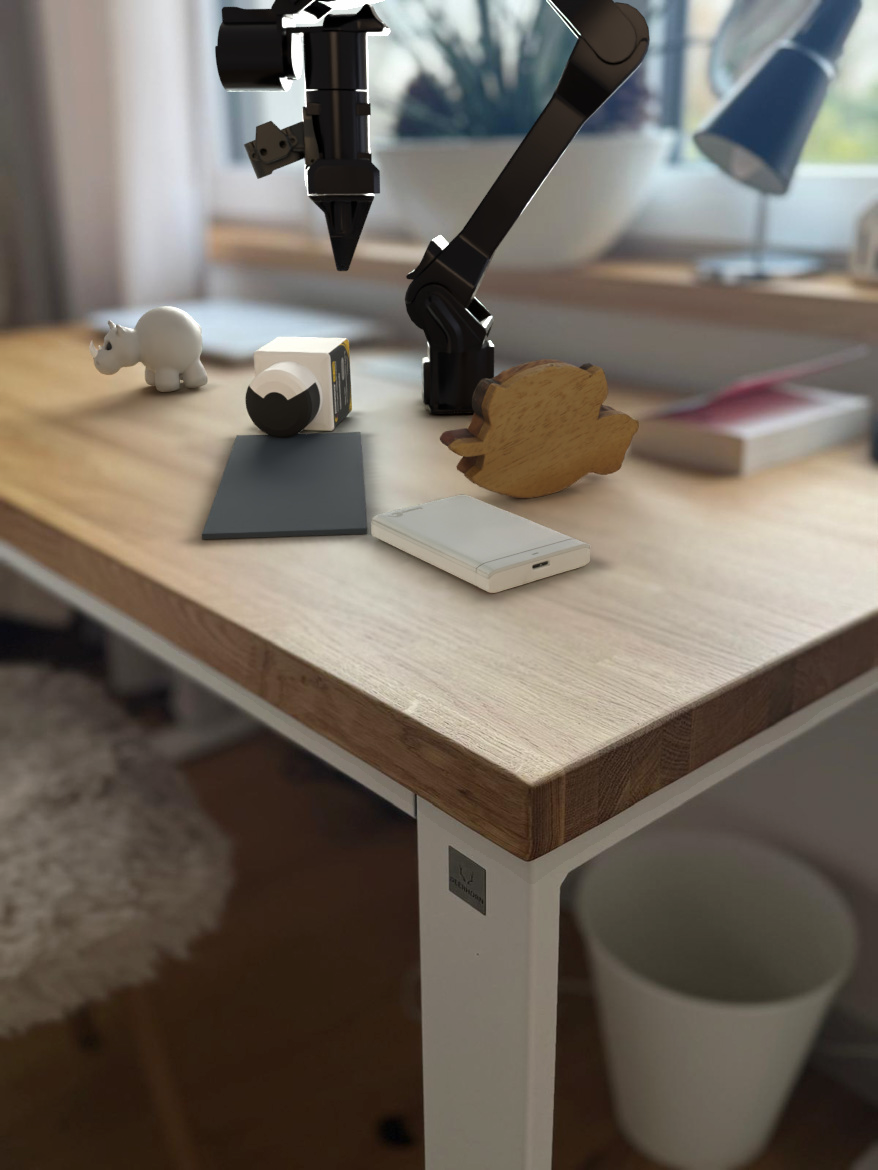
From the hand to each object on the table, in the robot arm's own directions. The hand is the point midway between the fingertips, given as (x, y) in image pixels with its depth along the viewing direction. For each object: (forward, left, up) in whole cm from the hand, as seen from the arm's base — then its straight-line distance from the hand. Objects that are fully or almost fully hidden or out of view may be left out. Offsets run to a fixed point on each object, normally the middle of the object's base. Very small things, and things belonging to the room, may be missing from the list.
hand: (342, 270), depth 103 cm
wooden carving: (-14, +31, -13) cm, 36 cm away
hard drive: (-8, +43, -13) cm, 45 cm away
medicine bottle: (+3, +3, -9) cm, 10 cm away
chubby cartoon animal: (+21, -9, -13) cm, 26 cm away
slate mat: (+4, +26, -13) cm, 29 cm away
